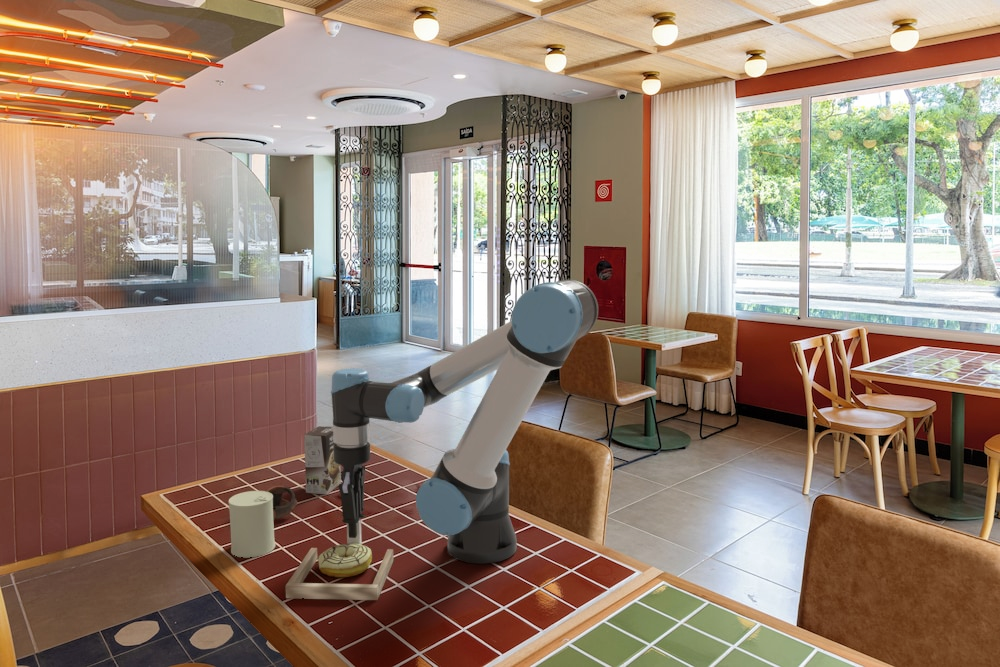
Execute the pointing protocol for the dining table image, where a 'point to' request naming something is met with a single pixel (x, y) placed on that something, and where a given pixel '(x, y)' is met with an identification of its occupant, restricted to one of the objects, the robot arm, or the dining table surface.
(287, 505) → the brown spiked ring
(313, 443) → the coffee box
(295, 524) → the dining table surface
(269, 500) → the can
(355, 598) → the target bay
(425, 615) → the dining table surface
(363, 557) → the decorated donut
